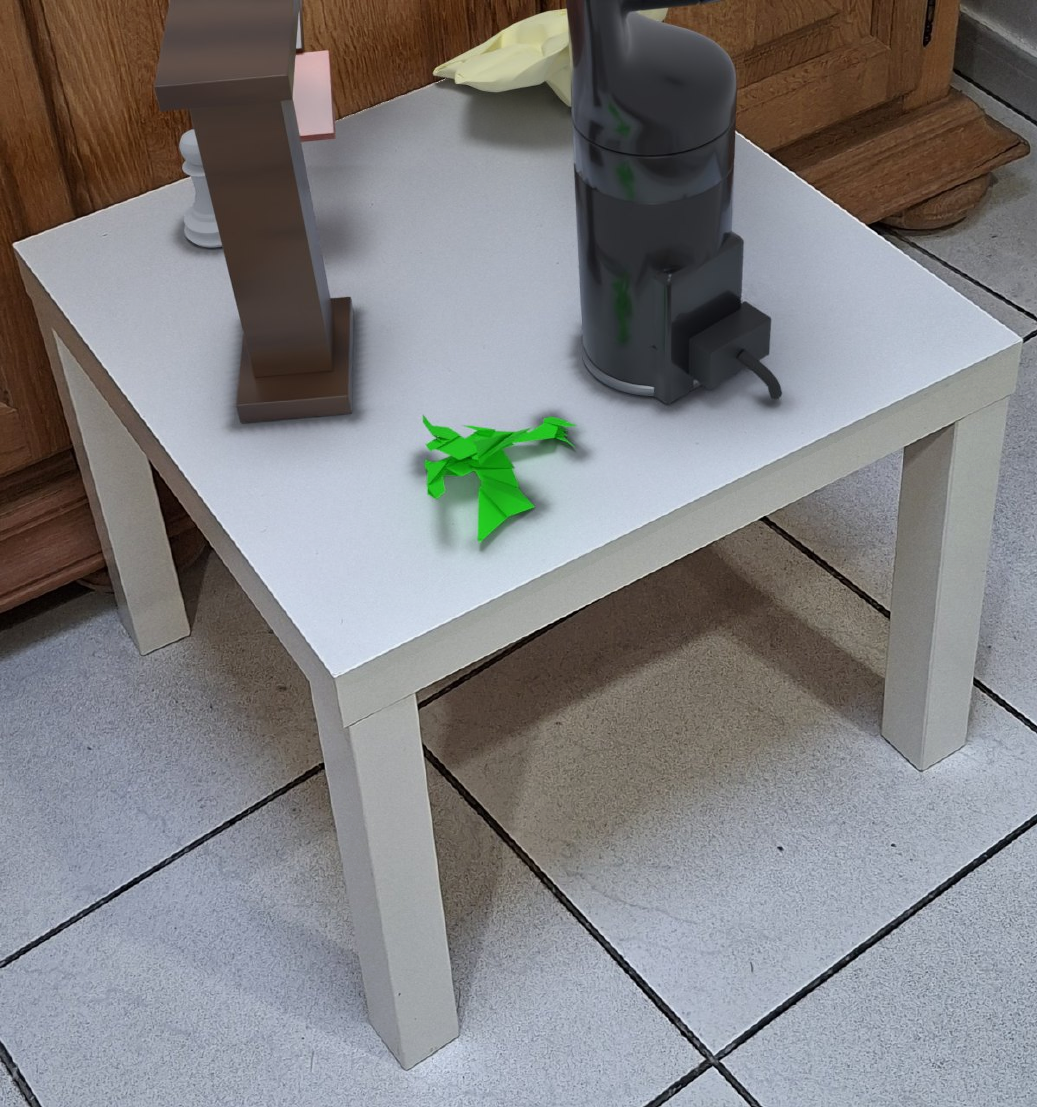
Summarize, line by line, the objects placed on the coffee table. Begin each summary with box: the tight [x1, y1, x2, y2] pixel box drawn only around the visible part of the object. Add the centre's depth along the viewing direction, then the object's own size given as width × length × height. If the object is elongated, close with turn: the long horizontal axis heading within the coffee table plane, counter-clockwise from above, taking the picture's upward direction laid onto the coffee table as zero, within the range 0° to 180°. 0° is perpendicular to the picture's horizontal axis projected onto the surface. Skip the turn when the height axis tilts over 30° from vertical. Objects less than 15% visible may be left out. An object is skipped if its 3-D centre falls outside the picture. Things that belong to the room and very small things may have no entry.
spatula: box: [293, 0, 337, 143], centre depth 107 cm, size 18×5×1 cm, turn 3°
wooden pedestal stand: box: [153, 0, 355, 424], centre depth 97 cm, size 10×7×24 cm
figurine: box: [422, 414, 578, 543], centre depth 95 cm, size 6×12×9 cm
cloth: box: [432, 8, 669, 108], centre depth 123 cm, size 22×19×6 cm
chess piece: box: [178, 128, 223, 249], centre depth 113 cm, size 5×5×8 cm
